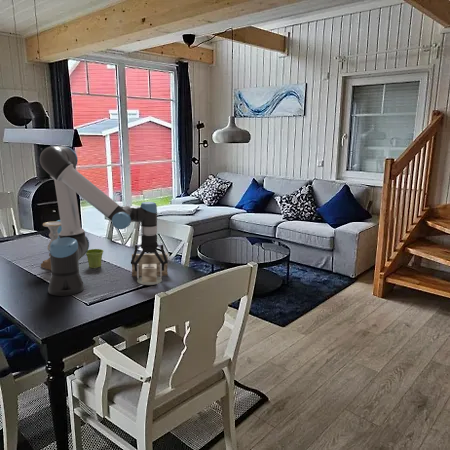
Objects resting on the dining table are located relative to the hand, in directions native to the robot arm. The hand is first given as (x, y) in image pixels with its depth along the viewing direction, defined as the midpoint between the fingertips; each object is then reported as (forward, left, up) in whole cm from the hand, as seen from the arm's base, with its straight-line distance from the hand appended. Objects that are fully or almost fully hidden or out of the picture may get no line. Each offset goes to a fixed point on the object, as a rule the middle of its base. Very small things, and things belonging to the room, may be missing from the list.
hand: (149, 277), depth 197 cm
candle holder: (-6, +56, -2) cm, 56 cm away
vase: (+12, +69, -2) cm, 70 cm away
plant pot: (+4, +38, -2) cm, 38 cm away
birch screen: (+8, +5, -2) cm, 9 cm away
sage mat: (0, 0, -2) cm, 2 cm away
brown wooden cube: (0, 0, -1) cm, 1 cm away
